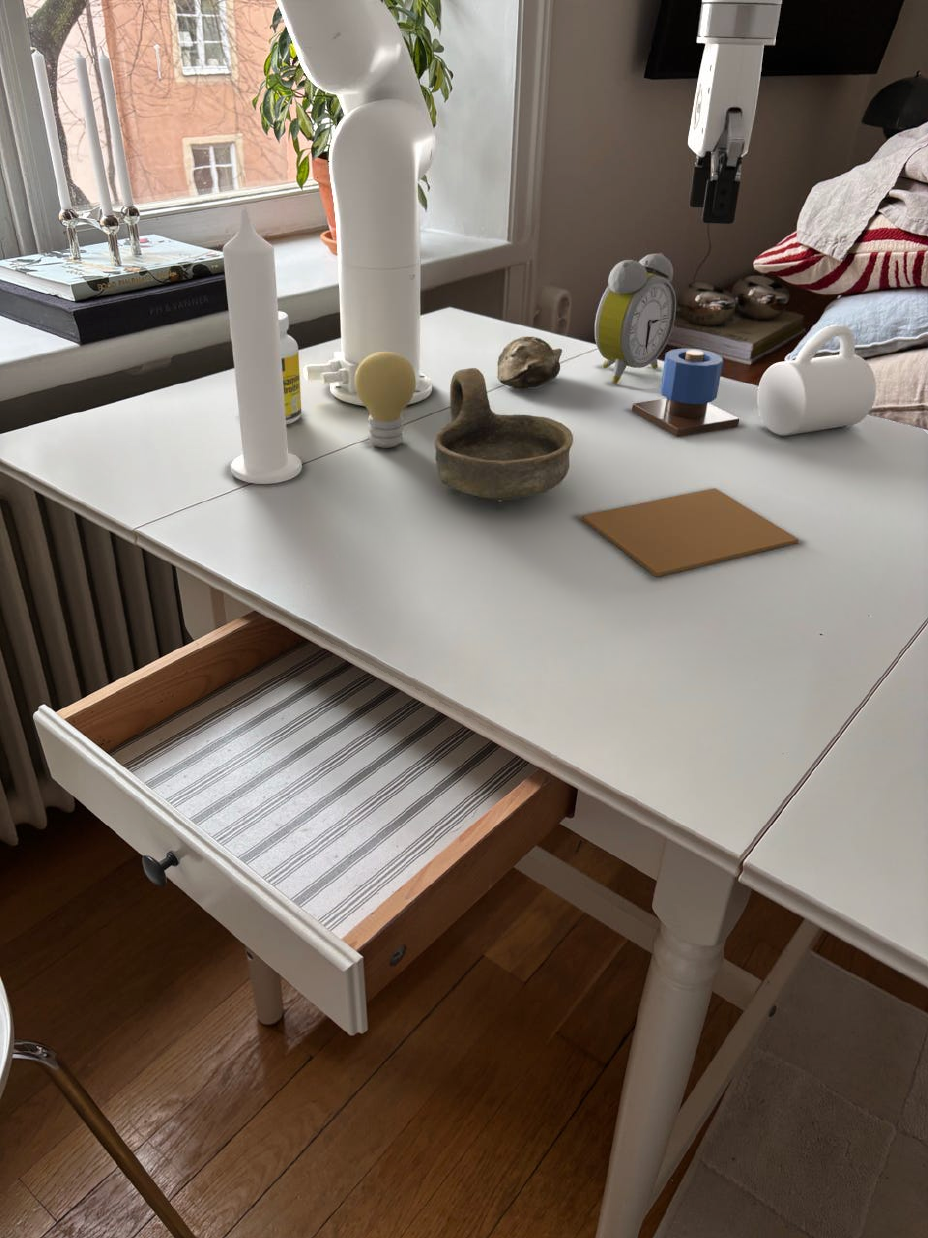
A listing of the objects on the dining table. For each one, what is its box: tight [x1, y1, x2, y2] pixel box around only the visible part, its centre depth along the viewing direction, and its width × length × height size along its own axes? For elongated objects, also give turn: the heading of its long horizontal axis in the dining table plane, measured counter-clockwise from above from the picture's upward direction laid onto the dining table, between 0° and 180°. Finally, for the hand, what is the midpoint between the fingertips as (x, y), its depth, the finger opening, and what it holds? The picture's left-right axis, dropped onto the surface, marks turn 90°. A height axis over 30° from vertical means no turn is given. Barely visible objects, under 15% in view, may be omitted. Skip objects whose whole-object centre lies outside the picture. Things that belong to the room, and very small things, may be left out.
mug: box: [756, 324, 877, 437], centre depth 110 cm, size 8×10×12 cm
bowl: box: [434, 367, 574, 503], centre depth 94 cm, size 14×18×10 cm
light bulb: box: [355, 352, 416, 449], centre depth 102 cm, size 6×6×10 cm
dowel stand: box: [631, 350, 740, 438], centre depth 112 cm, size 9×9×8 cm
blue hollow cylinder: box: [659, 348, 724, 404], centre depth 111 cm, size 6×6×4 cm
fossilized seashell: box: [496, 336, 563, 390], centre depth 122 cm, size 8×7×10 cm
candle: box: [222, 206, 303, 485], centre depth 91 cm, size 7×7×25 cm
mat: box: [581, 487, 800, 578], centre depth 89 cm, size 16×12×1 cm
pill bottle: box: [278, 310, 302, 425], centre depth 107 cm, size 6×6×12 cm
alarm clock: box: [594, 252, 677, 385], centre depth 124 cm, size 12×7×15 cm, turn 137°
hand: (710, 214), depth 102 cm, fingers open, 9 cm apart
